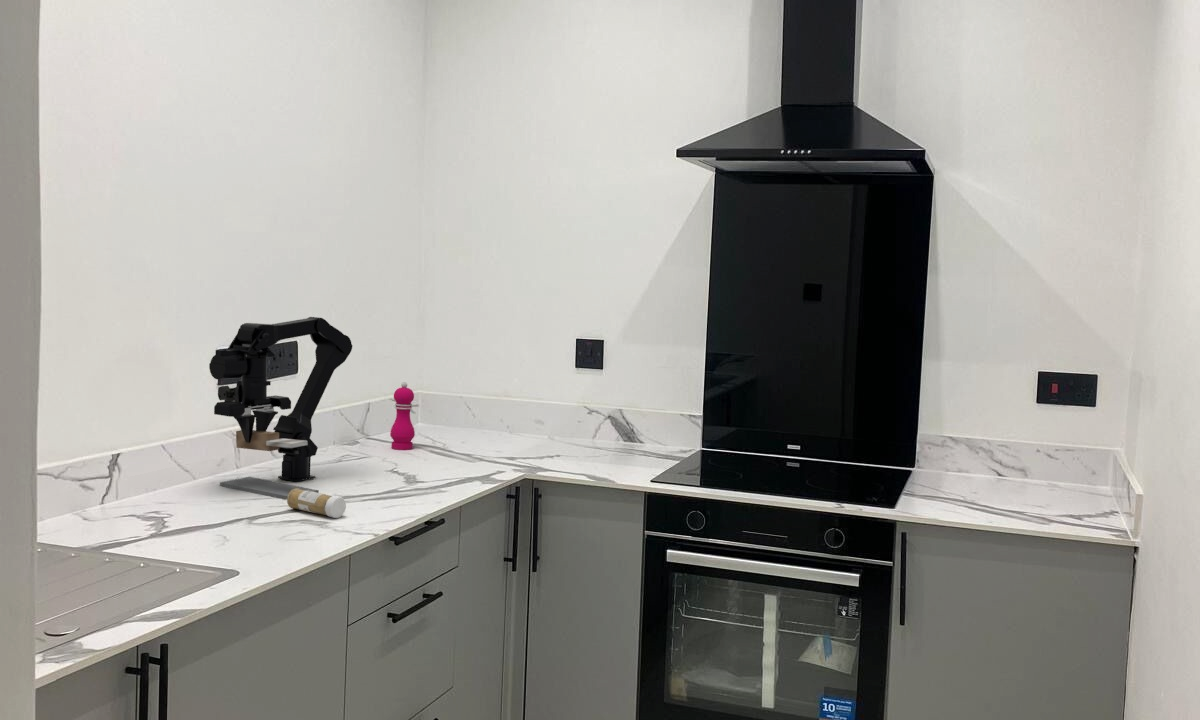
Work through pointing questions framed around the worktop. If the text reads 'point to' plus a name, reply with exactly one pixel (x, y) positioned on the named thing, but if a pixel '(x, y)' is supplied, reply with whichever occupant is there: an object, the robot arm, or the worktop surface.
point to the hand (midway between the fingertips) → (253, 441)
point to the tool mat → (263, 487)
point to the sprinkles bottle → (316, 503)
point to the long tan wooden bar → (266, 441)
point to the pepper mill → (403, 419)
